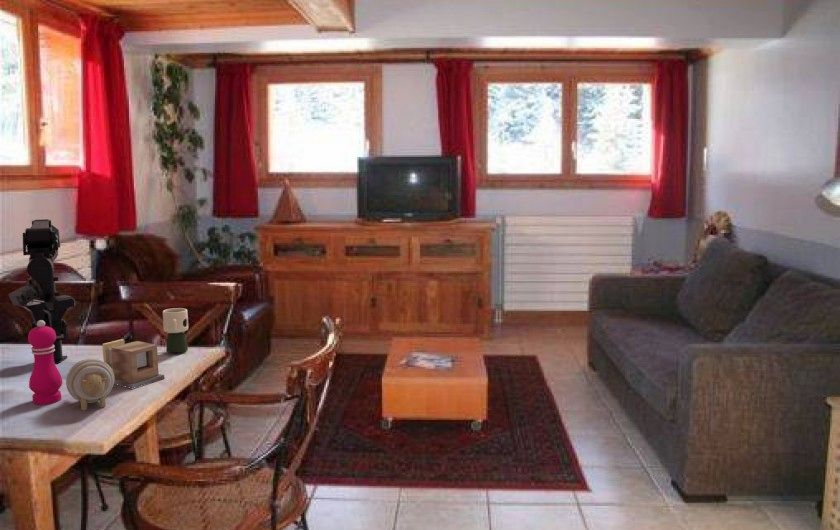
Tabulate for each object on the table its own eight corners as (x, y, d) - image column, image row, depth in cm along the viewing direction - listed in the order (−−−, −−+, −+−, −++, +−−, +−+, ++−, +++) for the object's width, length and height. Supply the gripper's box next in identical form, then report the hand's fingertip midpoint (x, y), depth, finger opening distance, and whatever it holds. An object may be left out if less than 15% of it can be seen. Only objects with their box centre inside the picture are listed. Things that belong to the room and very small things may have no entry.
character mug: (188, 355, 217) (186, 313, 215) (163, 357, 215) (161, 314, 213) (190, 346, 227) (188, 306, 225) (166, 348, 226) (163, 307, 224)
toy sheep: (74, 418, 165) (71, 370, 164) (61, 398, 179) (58, 354, 177) (123, 408, 171) (120, 363, 170) (107, 390, 185) (104, 347, 183)
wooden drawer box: (88, 378, 195) (86, 344, 194) (121, 368, 204) (118, 336, 202) (132, 388, 186) (130, 353, 185) (164, 378, 195) (162, 344, 193)
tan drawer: (104, 369, 195) (102, 343, 194) (123, 364, 200) (121, 339, 199) (131, 375, 189) (129, 349, 188) (150, 369, 194) (148, 344, 193)
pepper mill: (50, 406, 173) (43, 324, 170) (23, 404, 175) (16, 322, 172) (70, 396, 180) (64, 317, 177) (44, 394, 182) (38, 316, 179)
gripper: (-8, 275, 193) (-3, 333, 196) (33, 281, 184) (38, 341, 186) (33, 270, 203) (37, 324, 205) (74, 275, 193) (78, 332, 196)
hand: (46, 331), depth 198 cm, fingers open, 6 cm apart
